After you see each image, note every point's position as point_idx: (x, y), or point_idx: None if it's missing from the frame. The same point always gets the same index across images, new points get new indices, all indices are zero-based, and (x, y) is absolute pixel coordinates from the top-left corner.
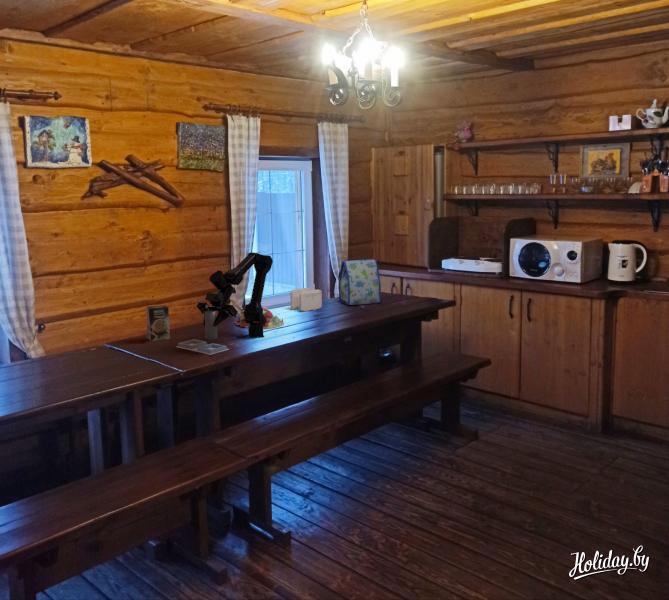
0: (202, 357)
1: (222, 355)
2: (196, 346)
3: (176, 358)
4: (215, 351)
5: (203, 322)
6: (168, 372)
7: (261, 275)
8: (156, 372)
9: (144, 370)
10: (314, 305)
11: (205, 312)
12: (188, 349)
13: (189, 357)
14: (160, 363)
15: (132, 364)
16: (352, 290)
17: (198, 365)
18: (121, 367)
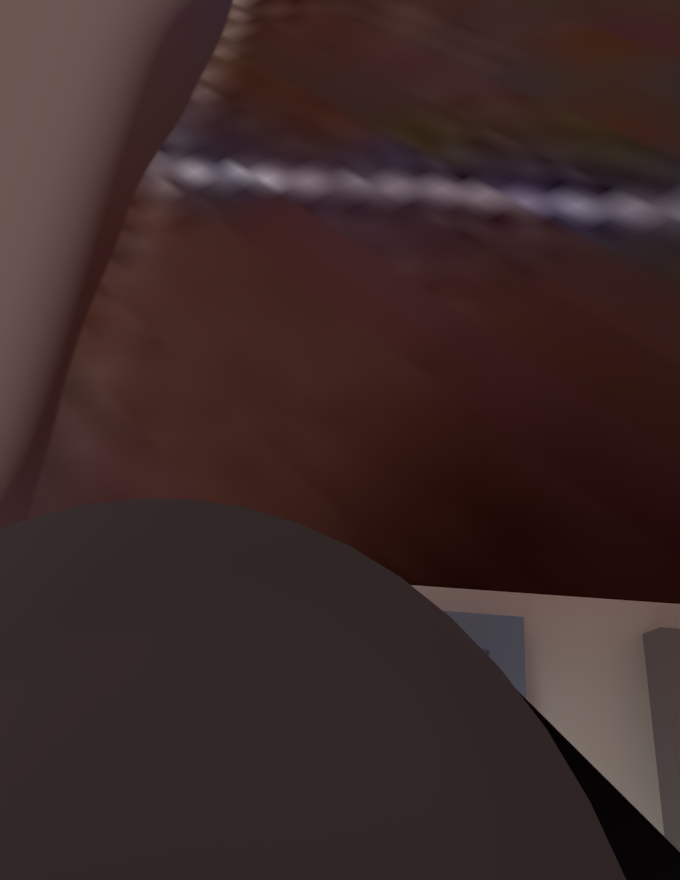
0: (304, 513)
1: None
2: (662, 736)
3: (511, 348)
4: None
5: (529, 703)
6: (238, 108)
7: None
8: (313, 71)
9: (427, 53)
10: None
11: (243, 517)
12: (673, 608)
13: (428, 440)
14: (488, 189)
15: (653, 73)
16: None
17: (151, 311)
18: (638, 9)
